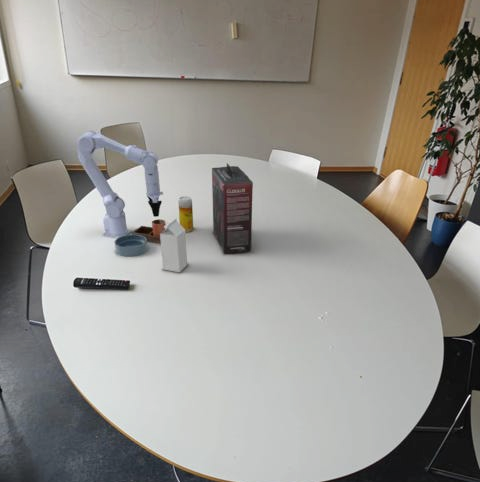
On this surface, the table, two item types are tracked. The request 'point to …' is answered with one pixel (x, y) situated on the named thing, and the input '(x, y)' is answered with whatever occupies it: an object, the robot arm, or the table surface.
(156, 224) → the cup
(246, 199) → the headset box
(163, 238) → the milk carton
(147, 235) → the box
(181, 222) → the beer can
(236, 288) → the table surface
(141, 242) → the bowl
